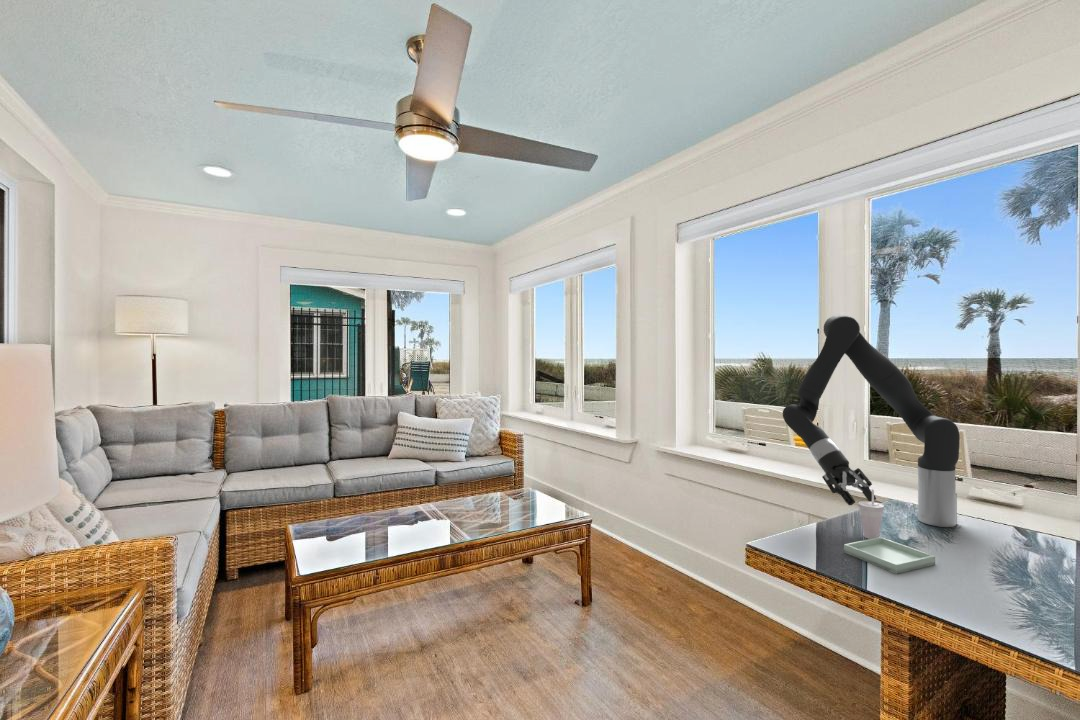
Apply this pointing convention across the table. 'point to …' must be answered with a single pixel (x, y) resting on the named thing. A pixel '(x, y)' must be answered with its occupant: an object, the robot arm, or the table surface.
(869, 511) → the smoothie
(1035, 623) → the table surface
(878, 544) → the tray
